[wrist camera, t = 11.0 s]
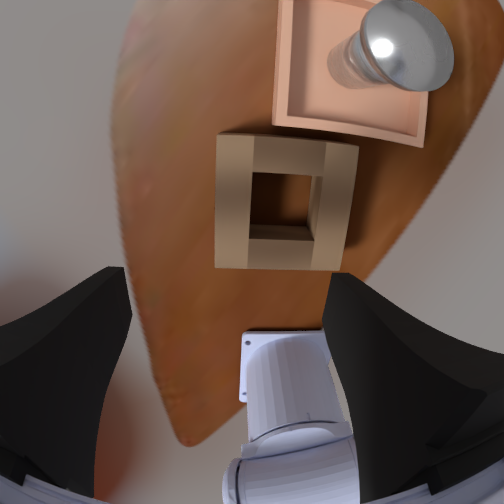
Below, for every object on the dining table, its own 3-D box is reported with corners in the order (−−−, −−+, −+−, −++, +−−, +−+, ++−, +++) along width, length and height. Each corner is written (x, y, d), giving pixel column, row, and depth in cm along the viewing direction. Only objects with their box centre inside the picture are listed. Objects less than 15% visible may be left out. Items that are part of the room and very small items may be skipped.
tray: (407, 144, 18) (422, 148, 16) (271, 124, 17) (275, 125, 16) (413, 21, 14) (428, 15, 12) (279, -12, 13) (283, -24, 11)
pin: (379, 102, 16) (452, 102, 9) (317, 91, 16) (365, 77, 9) (382, 44, 14) (452, 18, 7) (319, 30, 14) (365, -15, 7)
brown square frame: (329, 253, 21) (339, 270, 19) (217, 250, 21) (214, 267, 19) (344, 142, 18) (359, 146, 16) (219, 132, 17) (217, 134, 15)
